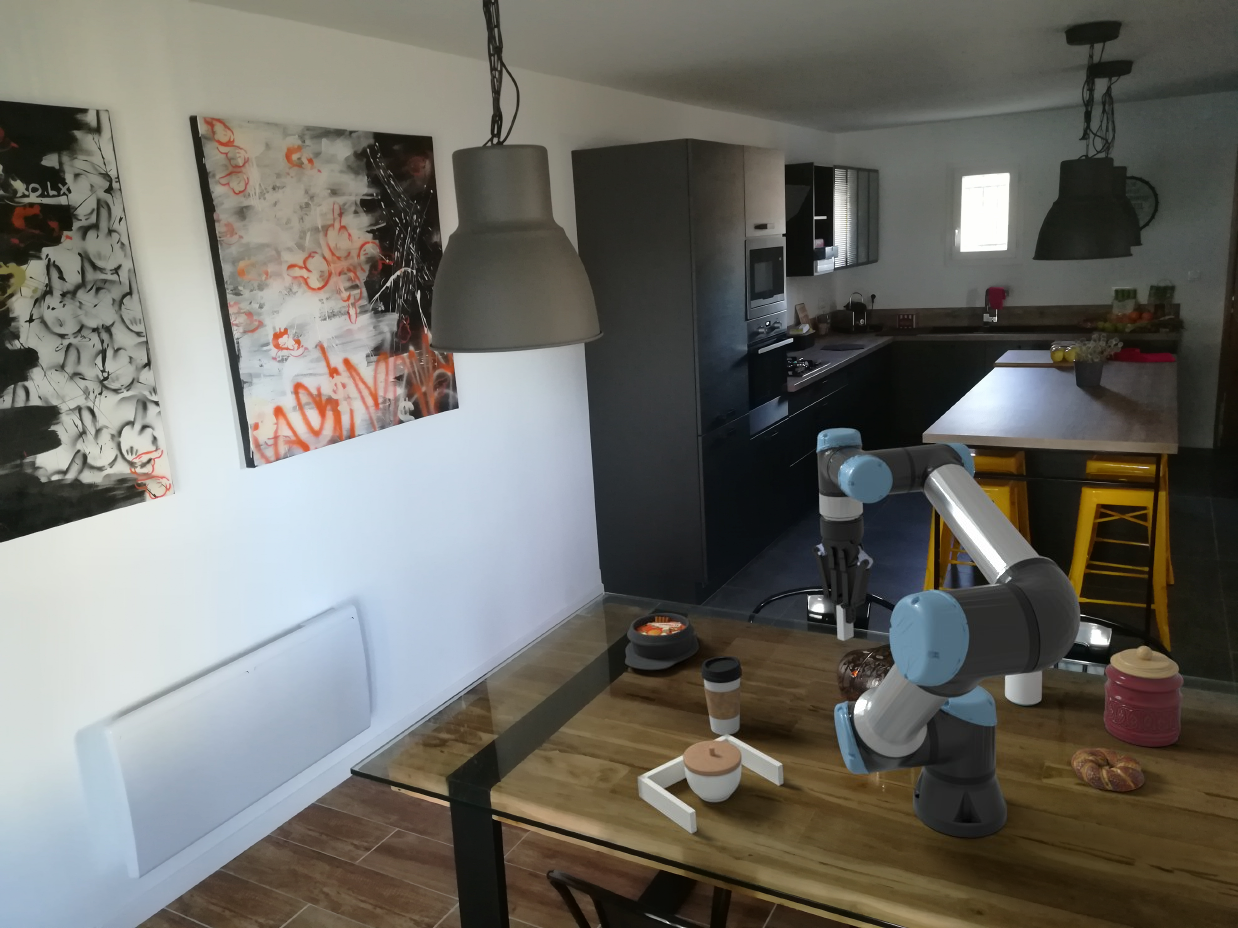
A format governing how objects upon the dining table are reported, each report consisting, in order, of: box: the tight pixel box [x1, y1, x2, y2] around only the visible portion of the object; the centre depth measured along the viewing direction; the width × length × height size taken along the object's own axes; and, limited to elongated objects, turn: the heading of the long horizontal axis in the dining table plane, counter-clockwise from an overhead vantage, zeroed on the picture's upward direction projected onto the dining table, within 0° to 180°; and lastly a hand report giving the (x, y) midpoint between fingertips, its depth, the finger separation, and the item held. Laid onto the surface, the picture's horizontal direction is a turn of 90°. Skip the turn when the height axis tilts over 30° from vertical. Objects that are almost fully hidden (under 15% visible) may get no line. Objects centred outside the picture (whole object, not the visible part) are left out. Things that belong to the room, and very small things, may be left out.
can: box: [1004, 670, 1043, 707], centre depth 189 cm, size 7×7×12 cm
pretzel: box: [1070, 747, 1145, 792], centre depth 161 cm, size 12×11×4 cm
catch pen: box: [637, 734, 784, 835], centre depth 167 cm, size 15×22×4 cm
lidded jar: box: [682, 739, 742, 803], centre depth 166 cm, size 11×11×9 cm
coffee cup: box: [700, 655, 743, 736], centre depth 188 cm, size 8×8×15 cm
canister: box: [1103, 645, 1184, 748], centre depth 173 cm, size 13×13×18 cm
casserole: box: [624, 612, 700, 671], centre depth 226 cm, size 25×19×8 cm
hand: (845, 637), depth 166 cm, fingers closed
